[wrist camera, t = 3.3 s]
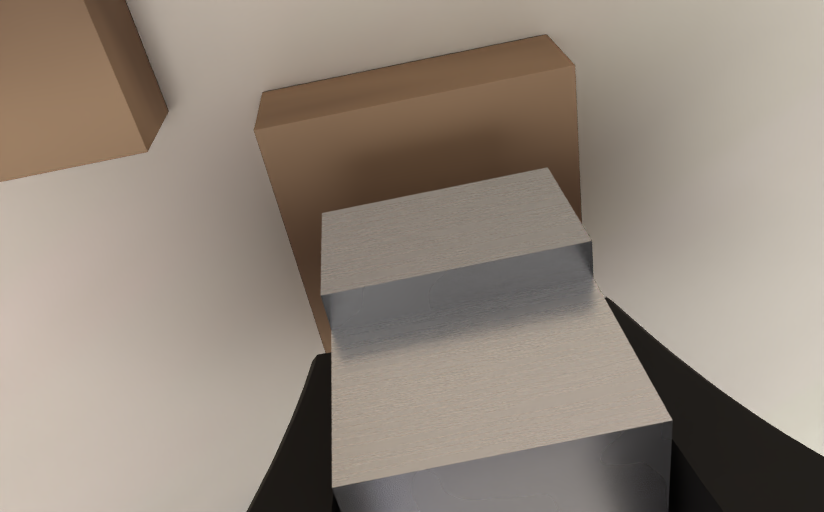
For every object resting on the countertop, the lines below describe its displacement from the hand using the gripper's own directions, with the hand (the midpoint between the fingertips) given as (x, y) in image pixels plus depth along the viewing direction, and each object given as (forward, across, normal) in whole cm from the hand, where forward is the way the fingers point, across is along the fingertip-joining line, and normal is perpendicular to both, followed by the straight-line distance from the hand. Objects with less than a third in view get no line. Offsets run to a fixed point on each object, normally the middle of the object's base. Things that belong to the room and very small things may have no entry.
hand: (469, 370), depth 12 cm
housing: (+1, 0, 0) cm, 1 cm away
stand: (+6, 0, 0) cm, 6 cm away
